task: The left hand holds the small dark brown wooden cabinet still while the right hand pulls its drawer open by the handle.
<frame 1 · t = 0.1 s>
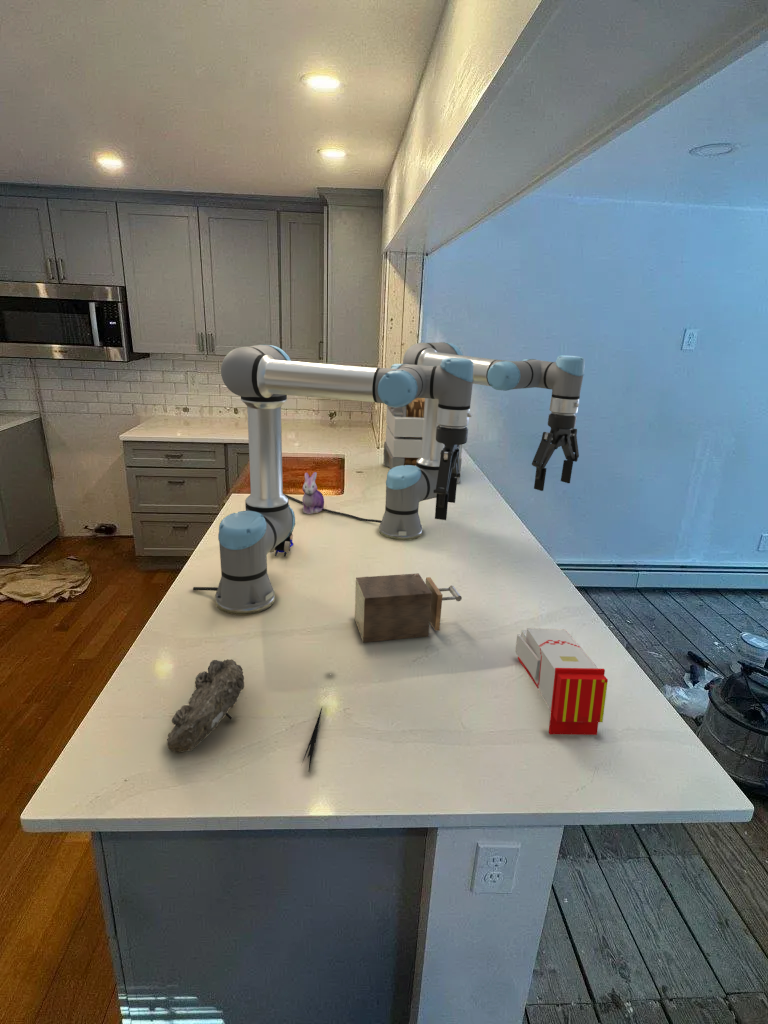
left hand: (445, 510, 141), 28 cm above the counter, tool pointing down, fingers open, 13 cm apart
right hand: (552, 485, 166), 28 cm above the counter, tool pointing down, fingers open, 13 cm apart
fossil: (212, 717, 108), on the counter
feather: (319, 719, 109), on the counter
figurine character: (283, 550, 182), on the counter
figurine: (313, 510, 219), on the counter
toy: (550, 690, 120), on the counter
cabinet: (390, 627, 141), on the counter
drawer: (417, 604, 141), point 6 cm above the counter, slide at 1.8 cm
transformer: (419, 473, 275), on the counter
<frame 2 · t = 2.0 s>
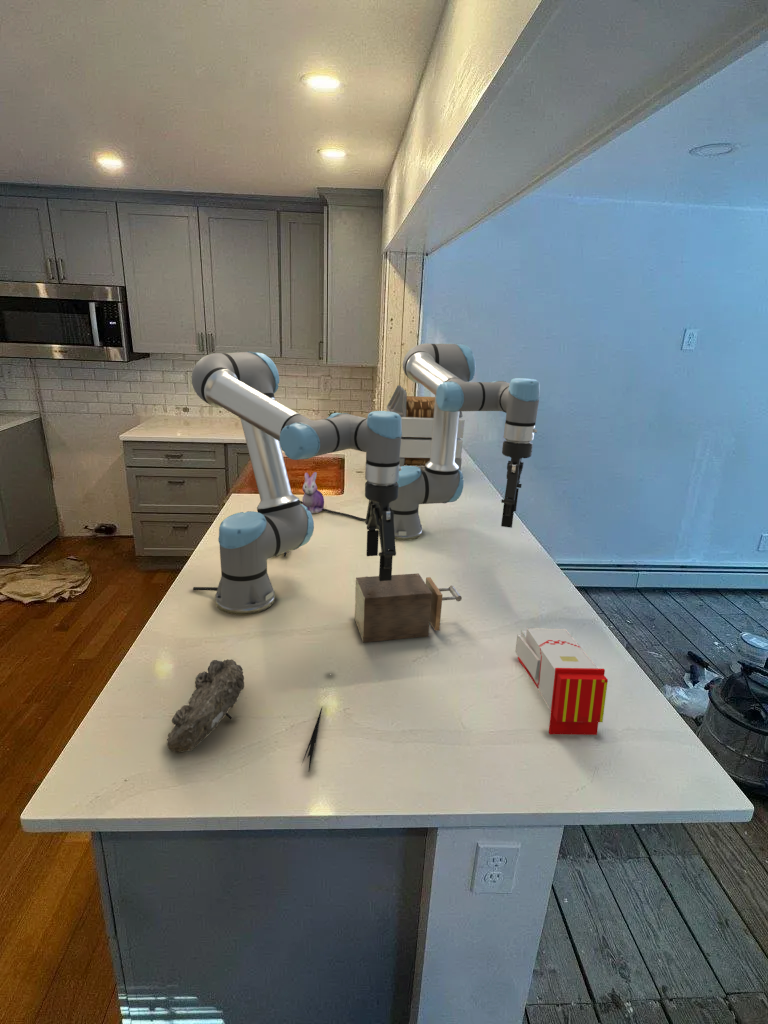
left hand: (378, 567, 135), 17 cm above the counter, tool pointing down, fingers open, 13 cm apart
right hand: (508, 518, 152), 23 cm above the counter, tool pointing down, fingers open, 13 cm apart
nothing on the counter moved.
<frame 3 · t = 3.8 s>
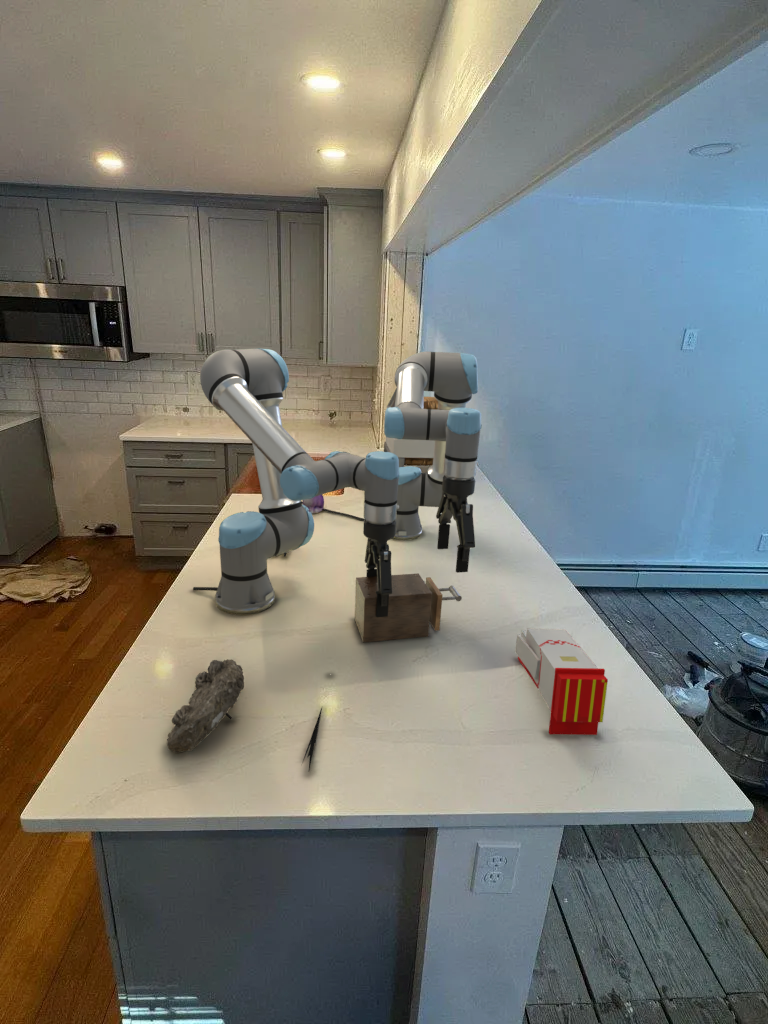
left hand: (376, 604, 138), 7 cm above the counter, tool pointing down, fingers closed on cabinet, 11 cm apart
right hand: (451, 559, 139), 18 cm above the counter, tool pointing down, fingers open, 13 cm apart
cabinet: (390, 627, 141), on the counter, touching left hand
everything else where it was.
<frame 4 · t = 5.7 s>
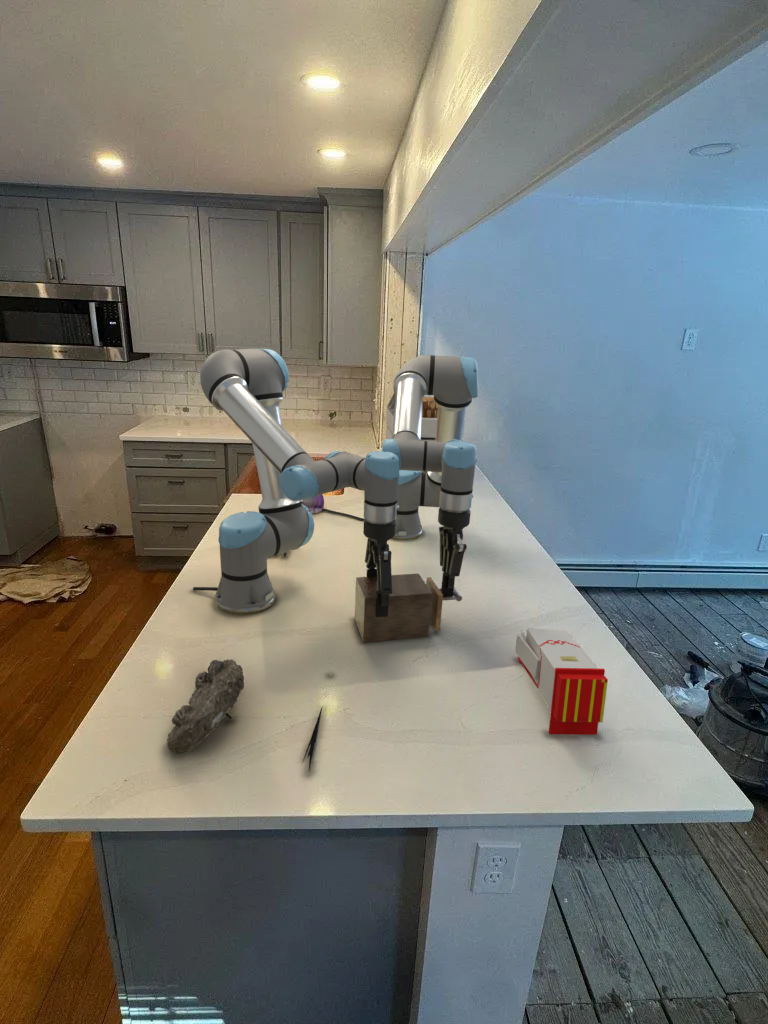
left hand: (376, 604, 138), 7 cm above the counter, tool pointing down, fingers closed on cabinet, 11 cm apart
right hand: (446, 597, 142), 8 cm above the counter, tool pointing down, fingers closed
cabinet: (390, 627, 141), on the counter, touching left hand
everything else where it was.
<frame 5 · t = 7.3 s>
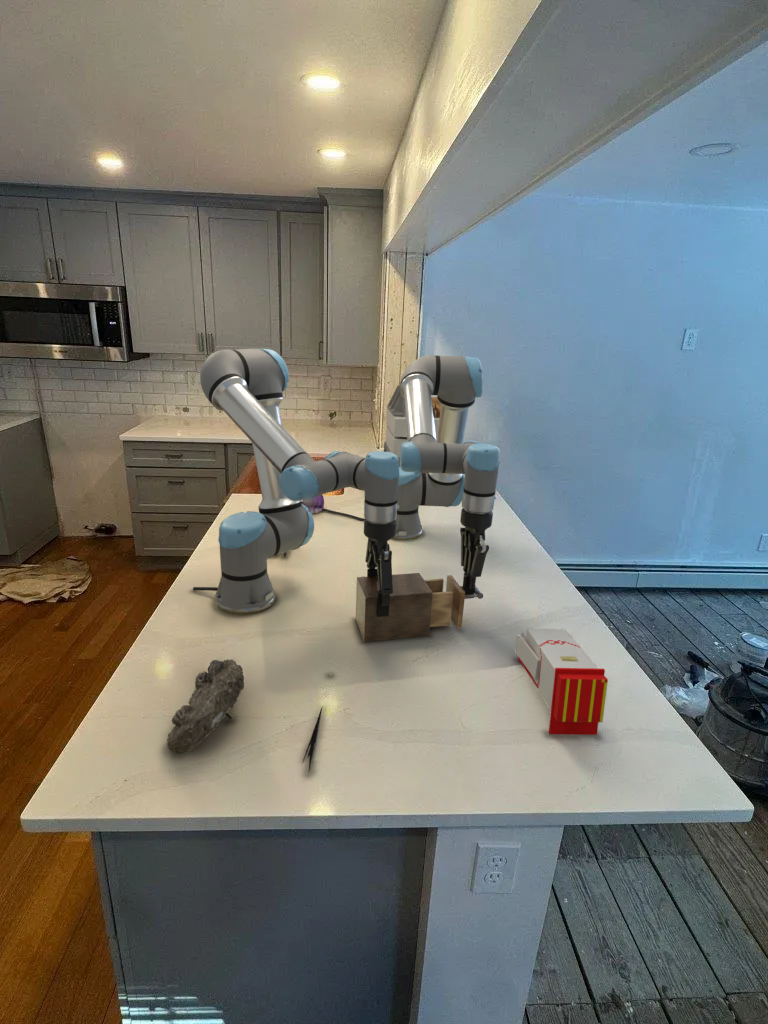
left hand: (377, 603, 138), 7 cm above the counter, tool pointing down, fingers closed on cabinet, 11 cm apart
right hand: (467, 597, 143), 7 cm above the counter, tool pointing down, fingers closed
cabinet: (391, 627, 141), on the counter, touching left hand
drawer: (439, 602, 142), point 6 cm above the counter, slide at 7.4 cm, touching right hand
everything else where it was.
when the left hand's fingers open (7 cm above the counter, at t = 8.9 s): cabinet stays where it is, on the counter.
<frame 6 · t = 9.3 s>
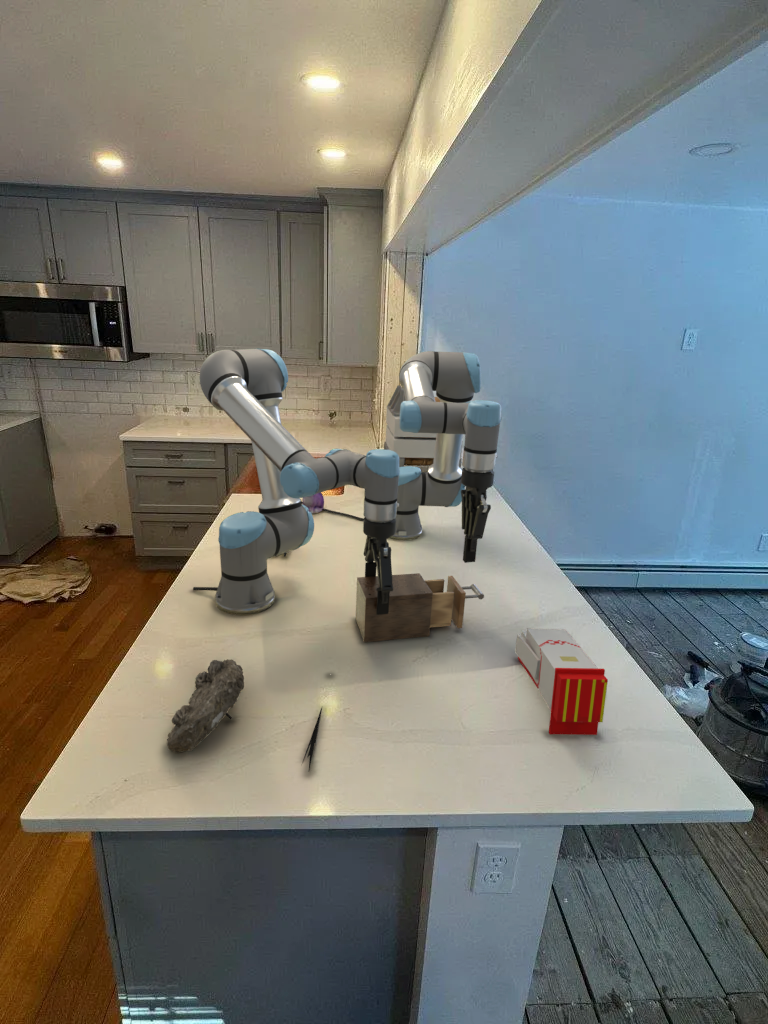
left hand: (375, 599, 137), 8 cm above the counter, tool pointing down, fingers open, 13 cm apart
right hand: (468, 560, 140), 17 cm above the counter, tool pointing down, fingers closed
cabinet: (391, 627, 141), on the counter
drawer: (440, 602, 142), point 6 cm above the counter, slide at 7.5 cm
everything else where it was.
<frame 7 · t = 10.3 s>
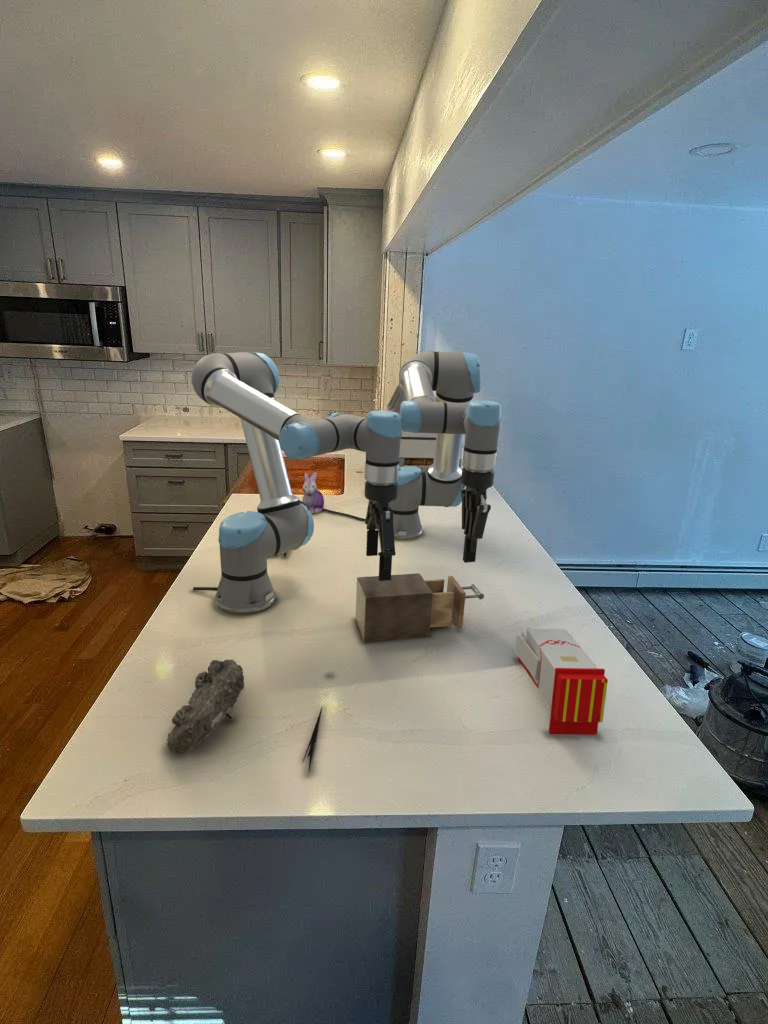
left hand: (377, 567, 134), 17 cm above the counter, tool pointing down, fingers open, 13 cm apart
right hand: (468, 560, 140), 17 cm above the counter, tool pointing down, fingers closed
nothing on the counter moved.
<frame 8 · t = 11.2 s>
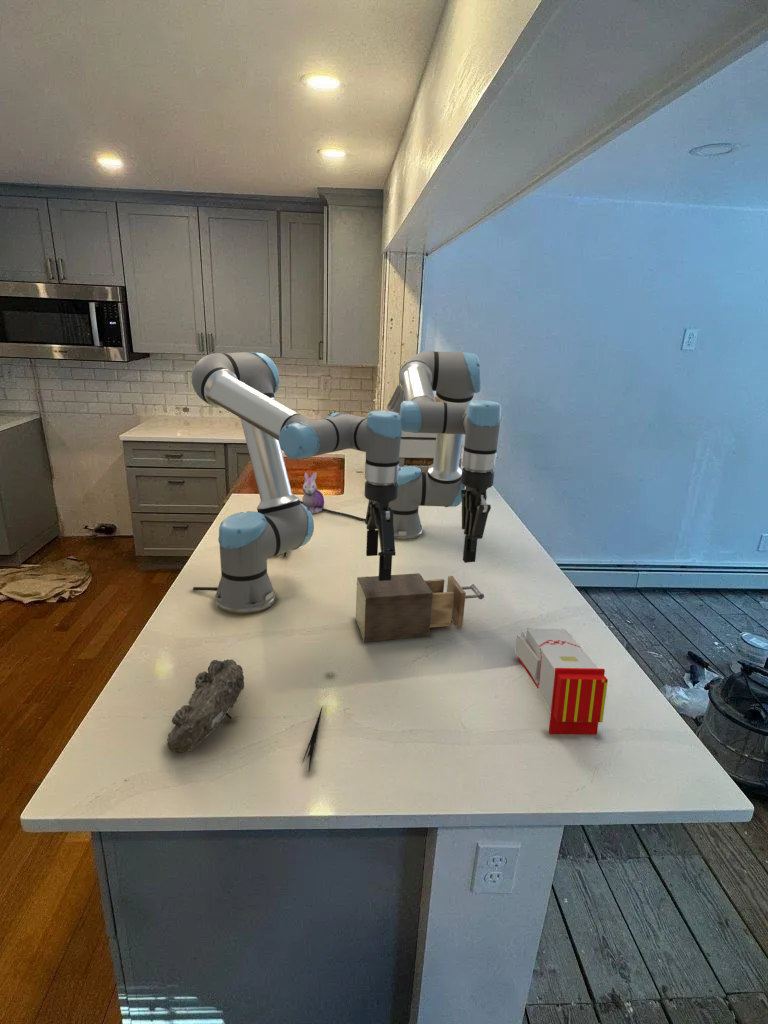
left hand: (377, 567, 134), 17 cm above the counter, tool pointing down, fingers open, 13 cm apart
right hand: (468, 560, 140), 17 cm above the counter, tool pointing down, fingers closed
nothing on the counter moved.
at the end: drawer slide at 7.5 cm; cabinet tilted 0°; cabinet never tilted more than 1° during the clip; cabinet moved 0.3 cm from its start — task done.
